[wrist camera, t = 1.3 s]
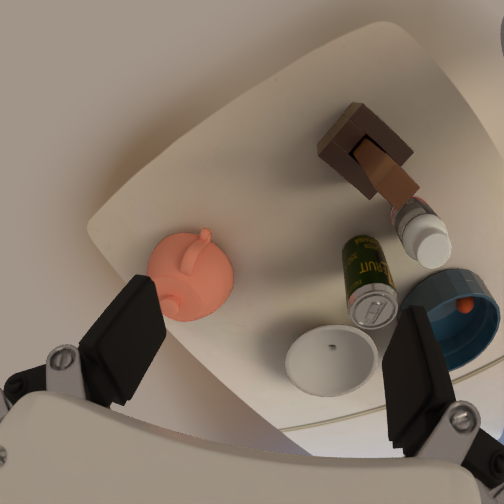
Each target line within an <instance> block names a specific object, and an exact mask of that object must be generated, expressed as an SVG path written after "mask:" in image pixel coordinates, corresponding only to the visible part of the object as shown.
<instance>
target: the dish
mask: <svg viewBox="0 0 504 504" xmlns="http://www.w3.org/2000/svg"><path fill="white" fill-rule="evenodd" d="M329 345H334V346H329ZM377 362H378V351H377V348H376V345H375V343H374V342H373V340H372V339H371V338H370V337H369V336H368V335H367V334H366V333H365V332H363V331H362V330H360V329H358V328H355V327H352V326H348V325H342V324H331V325H324V326H320V327H316V328H314V329H311V330H309V331H307V332H305V333H304V334H302V335H301V336H299V337H298V338H297V339H296V340H295V341H294V342H293V343H292V345H291V346H290V348H289V349H288V351H287V354H286V357H285V371H286V374H287V376H288V378H289V380H290V381H291V382H292V383H293V384H294V385H295V386H296V387H297V388H298V389H300V390H302V391H303V392H306V393H308V394H311V395H315V396H320V397H334V396H340V395H344V394H347V393H350V392H352V391H354V390H356V389H358V388H360V387H361V386H362V385H364V384H365V383H366V382H367V381H368V380H369V379H370V377H371V376H372V375H373V373H374V371H375V369H376V366H377Z"/></svg>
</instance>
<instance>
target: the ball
mask: <svg viewBox="0 0 504 504" xmlns="http://www.w3.org/2000/svg"><path fill="white" fill-rule="evenodd" d="M456 306H457V309H458V310H459V311H460V312H461V313H468V312H470V311H471V310H472V309H473V306H474V299H473V297H472V296H469V297H464V298H459V299H457V302H456Z"/></svg>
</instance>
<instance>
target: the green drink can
mask: <svg viewBox="0 0 504 504" xmlns="http://www.w3.org/2000/svg"><path fill="white" fill-rule="evenodd" d="M342 261H343V270H344V279H345V290H346V301H347V309H348V313H349V315H350V316H351V320H352V321H353V323H354V324H355V325H357V326H358V327H360V328H363V329H378V328H381V327H384V326H386V325H387V324H389V323H390V322H391V321H392V320H393V319H394V317H395V316H396V314H397V311H398V295H397V292H396V289H395V286H394V283H393V280H392V276H391V273H390V270H389V267H388V265H387V262H386V259H385V256H384V253H383V250H382V247H381V245H380V244H379V242H378V241H377V240H376V239H374V238H373V237H370V236H367V235H359V236H355V237H353V238H352V239H350V240H349V241H348V242H347V243H346V244H345V246H344V248H343V250H342Z"/></svg>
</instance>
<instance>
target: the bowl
mask: <svg viewBox="0 0 504 504" xmlns="http://www.w3.org/2000/svg"><path fill="white" fill-rule="evenodd" d="M469 296H472V297H473V299H474V306H473V309H472V310H471V311H470V312H468V313H461V312H460V311H459V310H458V309H457V306H456V302H457V299H459V298H464V297H469ZM409 305H417V306H424V308H425V310H426V313H427V315H428V318H429V321H430V324H431V327H432V330H433V333H434V335H435V339H436V342H438V343H439V344H440V346H441V349H442V352H443V355H444V358H445V362H446V365H447V368H448V372H450V371H453V370H455V369H458V368H460V367H462V366H464V365H466V364H467V363H469V362H471V361H472V360H474V359H475V358H476V357H477V356H479V355H480V354H481V353H482V352H483V351H484V350H485V349H486V348H487V347H488V345H489V344H490V343H491V341H492V340H493V338H494V336H495V334H496V332H497V330H498V328H499V323H500V310H499V306H498V305H497V303H496V301H495V300H494V298H493V297H492V295H491V293H490V292H489V290H488V289H487V287H486V286H485V284H484V283H483V281H482V280H481V278H480V277H479V276H478V275H477V274H475V273H473V272H472V271H470V270H464V269H451V270H445V271H442V272H439V273H437V274H435V275H432V276H430V277H429V278H427V279H426V280H424V281H423V282H421V283H420V284H419V285H417V286H416V287H415V288H414V289H413V291H412V292H411V293H410V294H409V295H408V296H407V297H406V299H405V301H404V303H403V304H402V306H401V308H400V311H399V315H398V319H397V323H398V321H399V318H400V315H401V313H402V310H403V309H407V307H408V306H409Z"/></svg>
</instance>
